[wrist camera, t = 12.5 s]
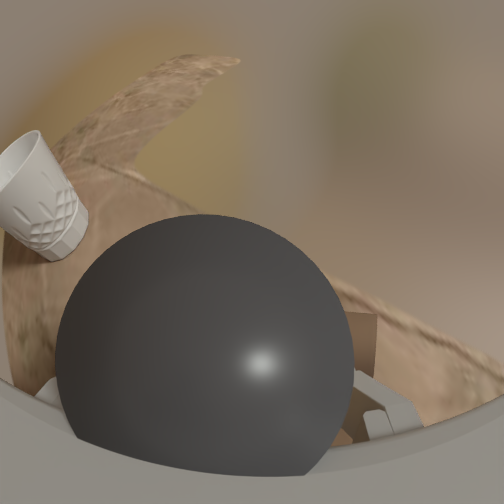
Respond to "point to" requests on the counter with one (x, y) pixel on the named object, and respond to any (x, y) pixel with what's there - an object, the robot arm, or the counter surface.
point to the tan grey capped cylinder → (206, 350)
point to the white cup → (39, 199)
